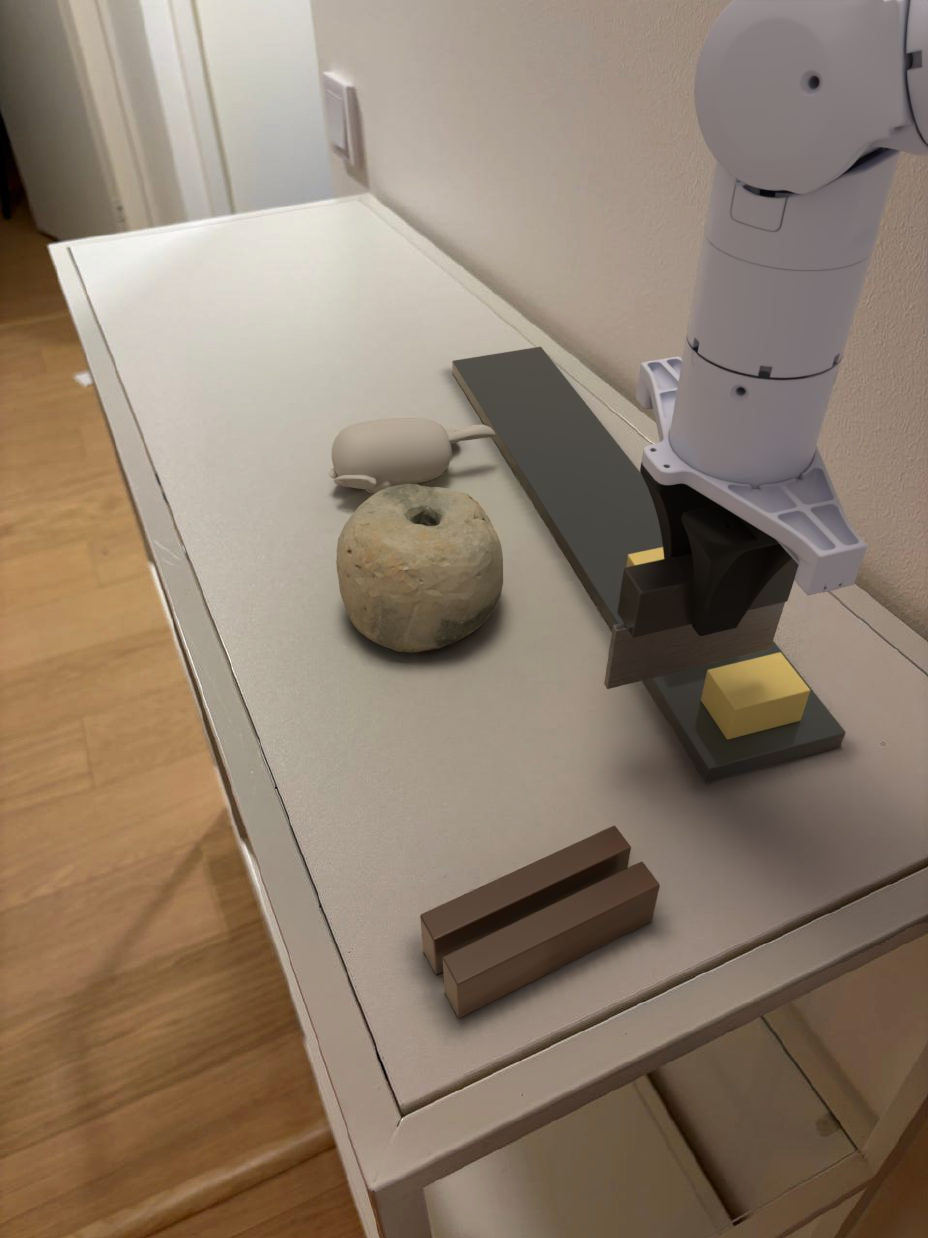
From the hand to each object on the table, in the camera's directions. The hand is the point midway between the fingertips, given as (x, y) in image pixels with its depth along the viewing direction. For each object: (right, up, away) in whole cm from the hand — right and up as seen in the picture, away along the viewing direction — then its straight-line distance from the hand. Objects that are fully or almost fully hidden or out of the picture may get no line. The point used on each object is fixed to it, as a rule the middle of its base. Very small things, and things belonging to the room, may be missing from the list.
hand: (702, 609), depth 46 cm
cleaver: (0, -3, +3) cm, 4 cm away
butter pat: (+4, -5, +7) cm, 10 cm away
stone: (-14, 0, +15) cm, 21 cm away
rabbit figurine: (-15, +10, +26) cm, 32 cm away
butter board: (-2, +7, +22) cm, 23 cm away
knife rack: (-8, -15, -1) cm, 17 cm away
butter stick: (+2, 0, +13) cm, 13 cm away
